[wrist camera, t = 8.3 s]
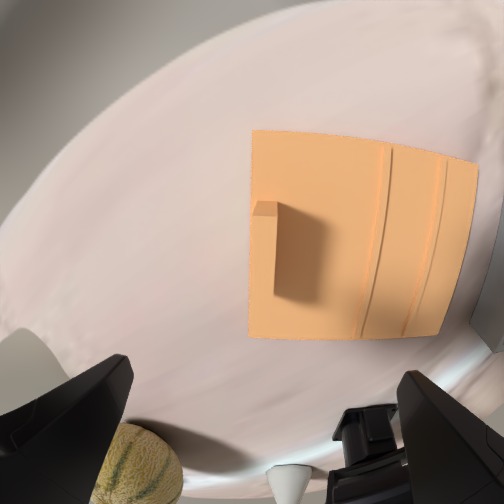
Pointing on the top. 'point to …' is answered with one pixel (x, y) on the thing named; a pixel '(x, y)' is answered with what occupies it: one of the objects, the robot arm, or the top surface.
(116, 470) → the cantaloupe
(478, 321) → the tub
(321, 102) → the top surface
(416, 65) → the top surface
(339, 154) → the lid
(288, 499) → the flask
